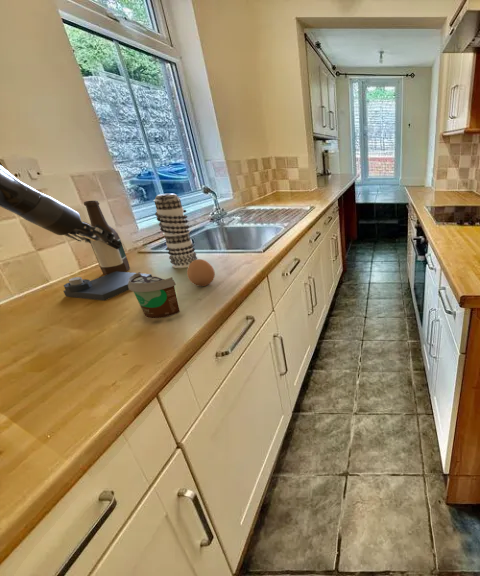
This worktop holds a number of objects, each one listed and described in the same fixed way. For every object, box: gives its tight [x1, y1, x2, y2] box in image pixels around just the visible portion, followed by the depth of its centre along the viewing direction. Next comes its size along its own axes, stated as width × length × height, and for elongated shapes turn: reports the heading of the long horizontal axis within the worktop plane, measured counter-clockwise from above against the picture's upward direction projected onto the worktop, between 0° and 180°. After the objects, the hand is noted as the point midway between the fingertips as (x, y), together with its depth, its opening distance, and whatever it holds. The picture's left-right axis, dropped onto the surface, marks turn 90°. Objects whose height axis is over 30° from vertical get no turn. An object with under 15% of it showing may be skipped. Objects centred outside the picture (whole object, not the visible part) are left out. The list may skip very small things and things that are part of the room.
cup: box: [90, 233, 123, 267], centre depth 94 cm, size 5×5×9 cm
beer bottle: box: [83, 200, 131, 275], centre depth 106 cm, size 8×8×24 cm
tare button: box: [68, 276, 84, 285], centre depth 92 cm, size 3×3×2 cm
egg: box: [186, 258, 216, 287], centre depth 98 cm, size 7×7×8 cm
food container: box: [128, 272, 181, 319], centre depth 80 cm, size 12×6×10 cm, turn 71°
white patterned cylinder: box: [152, 193, 198, 269], centre depth 112 cm, size 9×9×25 cm
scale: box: [62, 271, 153, 301], centre depth 97 cm, size 14×16×4 cm
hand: (111, 245), depth 95 cm, fingers closed on cup, 5 cm apart
